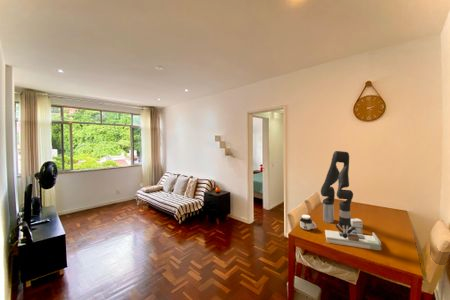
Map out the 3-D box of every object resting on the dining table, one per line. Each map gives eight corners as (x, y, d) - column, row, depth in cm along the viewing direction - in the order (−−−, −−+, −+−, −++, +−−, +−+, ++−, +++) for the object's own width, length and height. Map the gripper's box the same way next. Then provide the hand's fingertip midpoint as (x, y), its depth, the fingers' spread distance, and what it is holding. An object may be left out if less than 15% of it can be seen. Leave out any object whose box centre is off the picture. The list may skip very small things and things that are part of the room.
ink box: (352, 235, 158) (352, 221, 157) (348, 232, 163) (348, 218, 162) (362, 234, 158) (362, 220, 158) (358, 231, 164) (358, 218, 163)
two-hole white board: (325, 232, 164) (325, 226, 164) (373, 239, 151) (373, 232, 151) (326, 242, 150) (326, 235, 149) (381, 250, 136) (381, 243, 136)
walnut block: (347, 237, 150) (347, 232, 150) (357, 239, 148) (357, 234, 147) (349, 241, 145) (349, 236, 144) (358, 243, 142) (358, 237, 142)
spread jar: (298, 228, 174) (298, 215, 173) (305, 224, 181) (304, 212, 180) (311, 233, 165) (311, 219, 164) (318, 228, 172) (317, 215, 171)
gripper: (354, 214, 148) (354, 236, 149) (334, 212, 153) (334, 234, 154) (356, 218, 141) (356, 241, 142) (335, 216, 147) (335, 238, 148)
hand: (344, 237), depth 148 cm, fingers closed
